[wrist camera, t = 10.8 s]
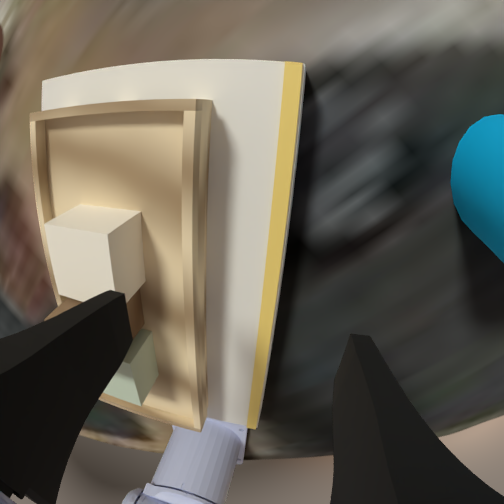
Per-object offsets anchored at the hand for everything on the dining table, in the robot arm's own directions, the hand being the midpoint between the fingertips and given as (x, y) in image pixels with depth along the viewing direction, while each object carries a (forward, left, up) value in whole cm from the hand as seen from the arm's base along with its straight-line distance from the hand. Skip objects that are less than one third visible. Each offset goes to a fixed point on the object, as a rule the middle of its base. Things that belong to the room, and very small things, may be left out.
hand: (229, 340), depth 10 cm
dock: (-4, +7, -10) cm, 13 cm away
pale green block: (-8, +8, -6) cm, 13 cm away
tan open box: (-4, +8, -8) cm, 12 cm away
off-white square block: (-1, +8, -6) cm, 10 cm away
